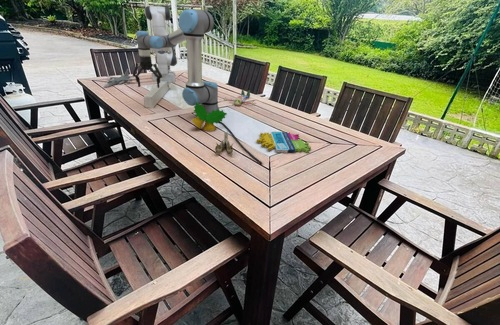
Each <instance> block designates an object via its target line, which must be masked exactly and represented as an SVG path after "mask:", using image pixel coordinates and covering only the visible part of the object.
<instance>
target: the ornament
mask: <svg viewBox="0 0 500 325" xmlns="http://www.w3.org/2000/svg"><path fill="white" fill-rule="evenodd" d="M219 110H220V108H219V109H217V110H216V111H214V110H212V112H211V113H208V112H206V109H204V106H201V104H198V103H197V102H196V105H194V106H193V112H194V113H195V118H192V119H191V122H192V123H193V125H195V127H197V128H198V129H202V130H203V131H206V132H212V131H213V132H214V131H215V130H216V126H215V124H218V123H219V121H220V122H222V123H223V119H226V115H227V114H228V113H227V112H224V110H223V109H221V110H220V111H219ZM207 113H208V115H207ZM214 123H215V124H214Z"/></svg>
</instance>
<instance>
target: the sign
mask: <svg viewBox="0 0 500 325" xmlns="http://www.w3.org/2000/svg"><path fill="white" fill-rule="evenodd" d="M299 136H300V135H299V134H298V133H296V134H294V133H291V132H287V131H270V132H264V133H263V132H260V133H259V139H258V138H257V139H256V143H257V144H261V148H263V147H264V148H265V149H267V151H268V152H271V151H272V150H273V149H275V152H276V153H283V154H285V153H287V154H288V153H290V154H293V153H296V152H298V153H301V152H305V153H310V151H311V150H312V149H311V148H312V146H309V142H304V141H303V139H302V138H299Z"/></svg>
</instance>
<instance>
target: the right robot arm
mask: <svg viewBox="0 0 500 325" xmlns="http://www.w3.org/2000/svg"><path fill="white" fill-rule="evenodd" d="M214 22H215V20H214V17H213V15H212V14H211V13H210V12H209V11H207V10H203V9H202V10H201V9H193V8H190V9H188V8H187V9H184V10H183V11H181V13H180V15H179V16H178V27H179V28H178V29H175V30H174V31H172V32H170V33H168V35H166V36H155V35H149V31H147V30H137V31H136V42H137V48H138V49H137V50H138V55H139V62H136V63H135V67H134V69H133V73H132V76H134V77H133V78H135V79H136V80H135V82H136V83H137V87H138V88H140V87H141V81H140V80H141V79H140V75H141V73H143V71H152V72H151V73H152V74H154V75H155V76H156V77H157V82H156V85H157V87H158V88H159V83H160V78H162V75H161V73H160V71H159V69H158V64H156V63H153V62H152V54H151V53H152V52H151V49H150V48H154V49H161V48H168V47H171V48H172V47H175V48H176V47H177V45H178V44H181V43H183V42H185V41H186V61H187V63H186V65H187V81H186V82H185V88H183V90H182V92H181V95H182V99H183V101H184V103H185V104H187V105H188V106H191V107H194V106H196V102H197V103H198V104H201V106H204V109H206V112H208V113H211V112H212V110H214V111H216V110H217V109H219V111H221V110H220V107H219V102H218V99H219V98H218V97H219V87H218V84H217V82H214V81H208V80H203V64H202V63H203V61H202V60H203V57H202V56H203V54H202V51H203V50H202V41H203V39H204V38H205V34H206V33H209V32H211V31H212V30H213V28H214V25H215V23H214ZM139 67H140V69H139ZM138 69H139V71H138ZM155 69H156V71H157V73H158V74H157V73H156V72H155V71H154V70H155ZM137 71H138V72H137ZM208 113H207V115H208ZM218 123H220V124H222V126H224V127H225V129H227V131H228V132H229V133H230V135H231V136H232V137H233V138H234V139H235V141H236V142H237V144H239V146H240V147H241V148H242V149H243V150H244V151H245V152H246V153H247V154H248V155H249V156H250V157H252V158H253V159H254V160H255V161H257V162H258V163H259V164H261V165H262V164H263V162H262V161H261V160H259V159H258V158H257V157H256V156H254V155H253V154H252V153H251V152H249V150H247V148H246V147H245V146H244V145H243V144H242V143H241V141H240V140H238V138H237V137H236V136H235V134H234V133H233V132H232V131H231V129H229V127H228V126H227V125H226V124H225V123H223V121H222V122H221V121H219V122H218Z"/></svg>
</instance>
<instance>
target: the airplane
mask: <svg viewBox="0 0 500 325" xmlns="http://www.w3.org/2000/svg"><path fill="white" fill-rule="evenodd" d="M129 69H130V68H126V71H125V73H124V74H120V76H119V77H118V76H109V75H105V76H106V78H109V79H108V82H107V83H106V84H105V85H104V86H102V88H109V87H111V86H115V85H118V84H119V85H121V84H125V83H130V82H132V81H136V78H135V77H134V76H133V75H130V73H129Z"/></svg>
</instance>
